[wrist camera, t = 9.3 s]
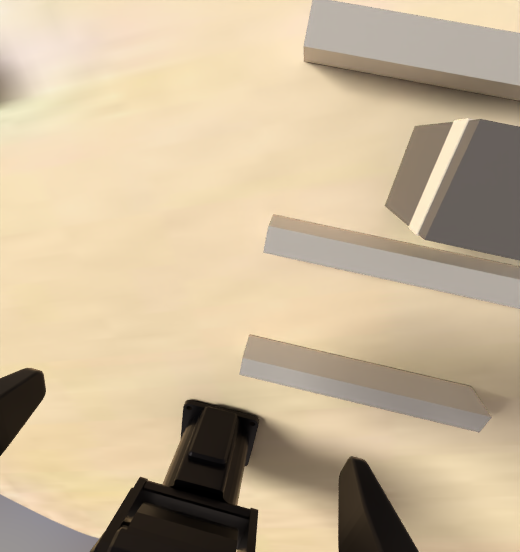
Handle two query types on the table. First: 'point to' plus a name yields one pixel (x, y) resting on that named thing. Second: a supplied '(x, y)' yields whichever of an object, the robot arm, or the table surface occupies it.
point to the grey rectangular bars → (381, 251)
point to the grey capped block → (462, 186)
